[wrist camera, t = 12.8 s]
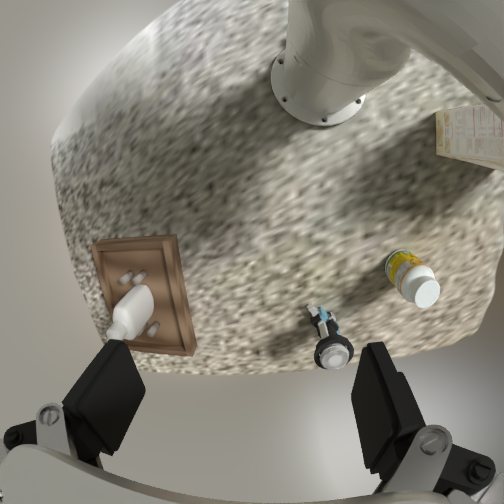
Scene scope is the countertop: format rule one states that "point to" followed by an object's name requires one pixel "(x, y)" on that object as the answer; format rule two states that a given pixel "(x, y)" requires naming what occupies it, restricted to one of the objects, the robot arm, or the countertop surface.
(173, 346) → the pin tray
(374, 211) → the countertop surface
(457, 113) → the coffeecake box
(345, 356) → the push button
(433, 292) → the supplement bottle
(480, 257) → the countertop surface
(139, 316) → the eye dropper bottle
